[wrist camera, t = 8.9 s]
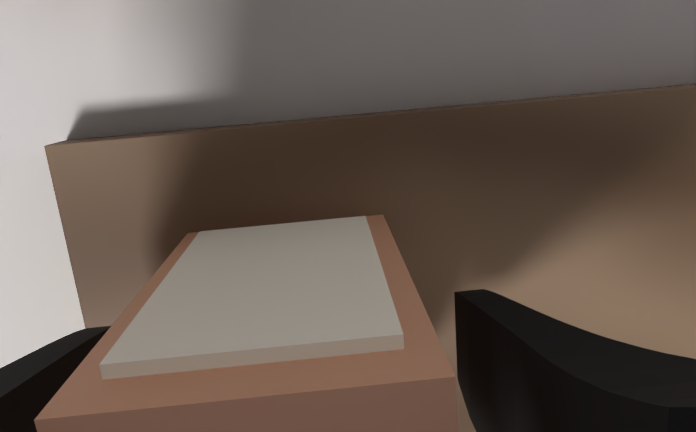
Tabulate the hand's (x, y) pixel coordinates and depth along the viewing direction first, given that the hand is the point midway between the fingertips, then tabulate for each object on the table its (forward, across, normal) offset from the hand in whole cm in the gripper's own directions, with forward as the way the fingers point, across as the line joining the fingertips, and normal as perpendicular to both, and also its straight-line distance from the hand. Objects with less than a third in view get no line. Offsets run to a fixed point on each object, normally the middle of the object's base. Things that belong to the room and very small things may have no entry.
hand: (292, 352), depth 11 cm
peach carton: (+2, 0, 0) cm, 2 cm away
